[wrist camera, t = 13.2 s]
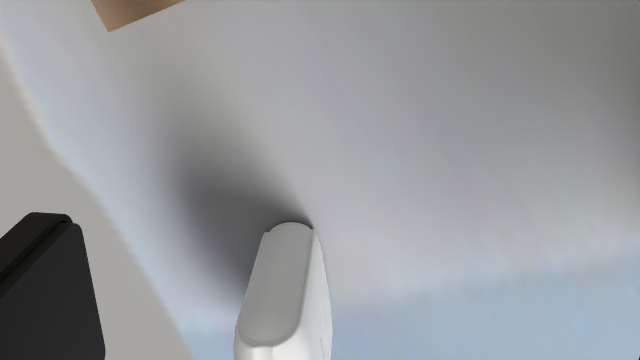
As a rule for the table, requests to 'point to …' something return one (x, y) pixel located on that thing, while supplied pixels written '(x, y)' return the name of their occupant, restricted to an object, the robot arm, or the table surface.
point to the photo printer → (286, 300)
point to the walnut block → (128, 10)
